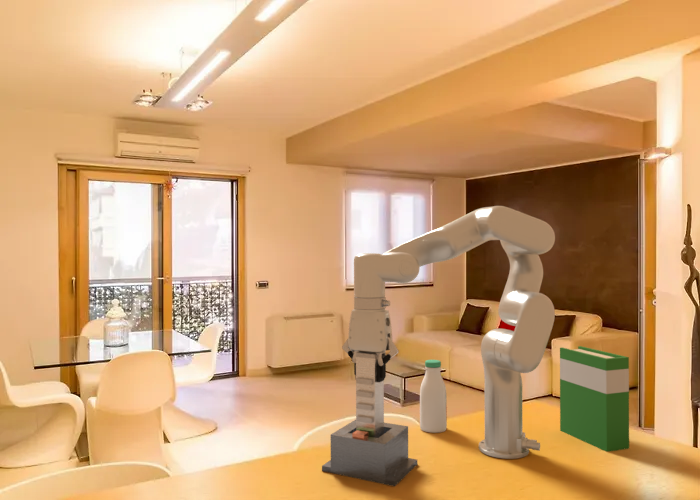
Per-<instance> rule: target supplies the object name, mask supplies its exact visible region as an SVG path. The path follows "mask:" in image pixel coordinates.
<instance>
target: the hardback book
mask: <svg viewBox="0 0 700 500" xmlns="http://www.w3.org/2000/svg"><path fill="white" fill-rule="evenodd" d="M629 371H630V358H629V357H628V356H624V355H621V354H620V355H619V354H616V353H611V352H608V351H603V350H599V349H594V348H591V347H587V346H581V345H579V346H577V348H576V349H570V348H566V347H559V416H560V417H559V420H560V421H559V424H560V425H559V431H560V432H562V433H564V434H566V435H569V436H571V437H573V438H575V439H577V440H580V441H582V442H584V443H586V444H588V445H591V446H593V447H595V448H597V449H599V450H600V451H601V450H602V451H604V452H606V453H607V452H609V453H610V452H615V451H621V450H628V449H630V372H629Z"/></svg>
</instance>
